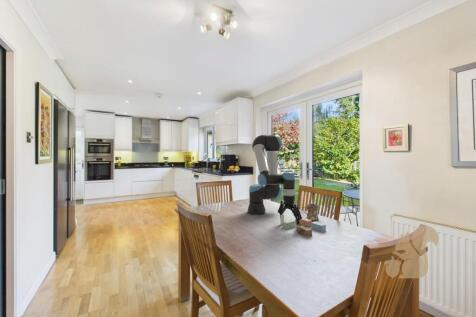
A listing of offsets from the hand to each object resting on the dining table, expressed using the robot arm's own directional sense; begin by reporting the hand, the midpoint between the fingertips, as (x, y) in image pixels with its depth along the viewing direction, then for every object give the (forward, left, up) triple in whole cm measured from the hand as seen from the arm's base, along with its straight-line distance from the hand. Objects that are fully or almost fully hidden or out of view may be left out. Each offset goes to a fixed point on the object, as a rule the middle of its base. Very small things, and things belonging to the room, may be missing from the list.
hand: (289, 226), depth 146 cm
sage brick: (0, 0, 0) cm, 0 cm away
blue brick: (+14, +12, 0) cm, 18 cm away
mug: (-3, +25, 0) cm, 25 cm away
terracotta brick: (+3, +12, 0) cm, 12 cm away
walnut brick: (+15, -2, 0) cm, 15 cm away
